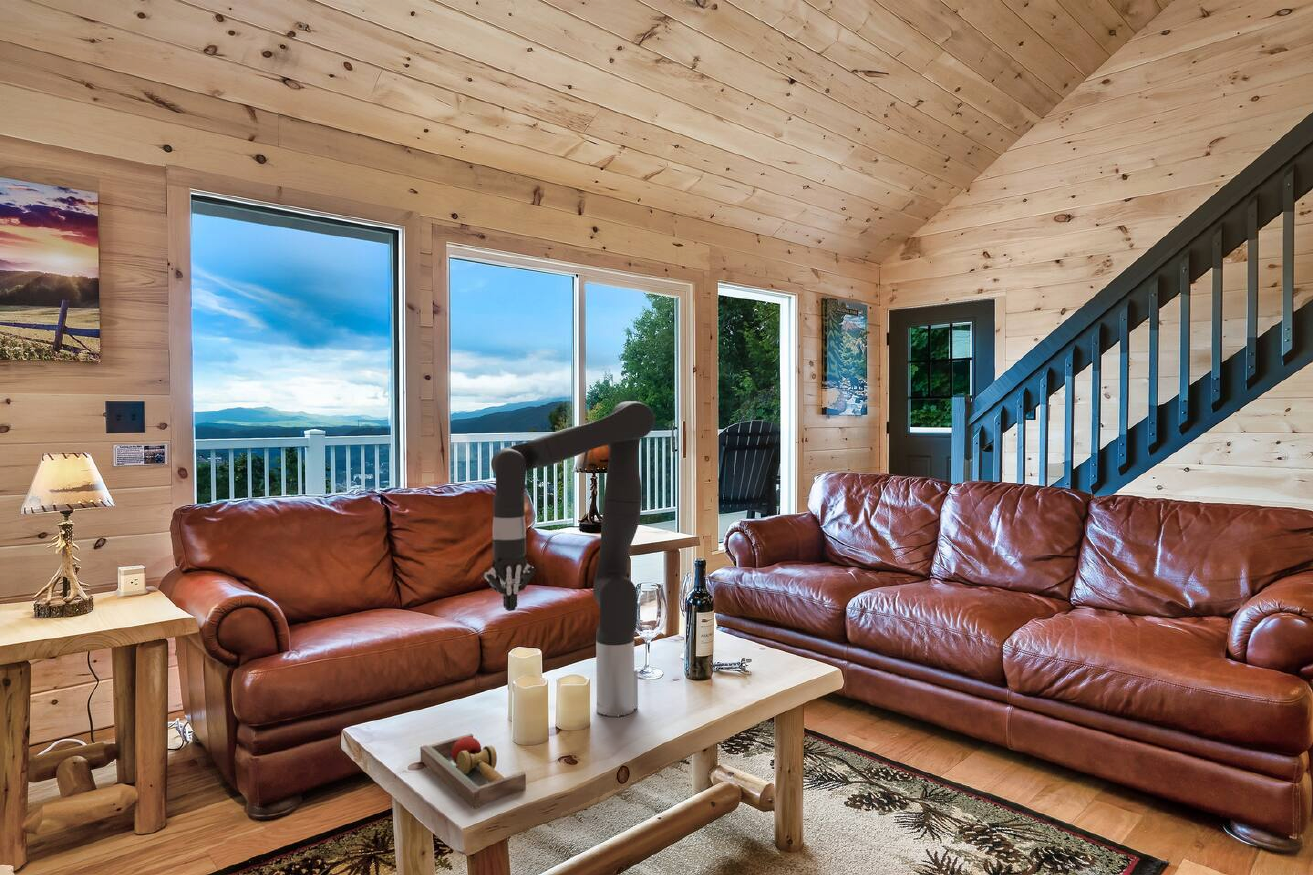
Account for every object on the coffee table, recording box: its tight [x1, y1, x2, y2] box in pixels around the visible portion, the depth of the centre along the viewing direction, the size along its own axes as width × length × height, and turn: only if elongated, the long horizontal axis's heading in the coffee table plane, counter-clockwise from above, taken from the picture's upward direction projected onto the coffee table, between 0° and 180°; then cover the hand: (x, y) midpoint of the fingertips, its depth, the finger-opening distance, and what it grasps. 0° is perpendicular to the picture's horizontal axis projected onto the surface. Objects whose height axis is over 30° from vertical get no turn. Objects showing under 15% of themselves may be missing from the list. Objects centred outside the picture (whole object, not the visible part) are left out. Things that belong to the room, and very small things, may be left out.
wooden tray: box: [419, 733, 527, 809], centre depth 158 cm, size 11×25×3 cm, turn 39°
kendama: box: [451, 736, 505, 783], centre depth 158 cm, size 8×6×18 cm
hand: (510, 609), depth 182 cm, fingers closed
